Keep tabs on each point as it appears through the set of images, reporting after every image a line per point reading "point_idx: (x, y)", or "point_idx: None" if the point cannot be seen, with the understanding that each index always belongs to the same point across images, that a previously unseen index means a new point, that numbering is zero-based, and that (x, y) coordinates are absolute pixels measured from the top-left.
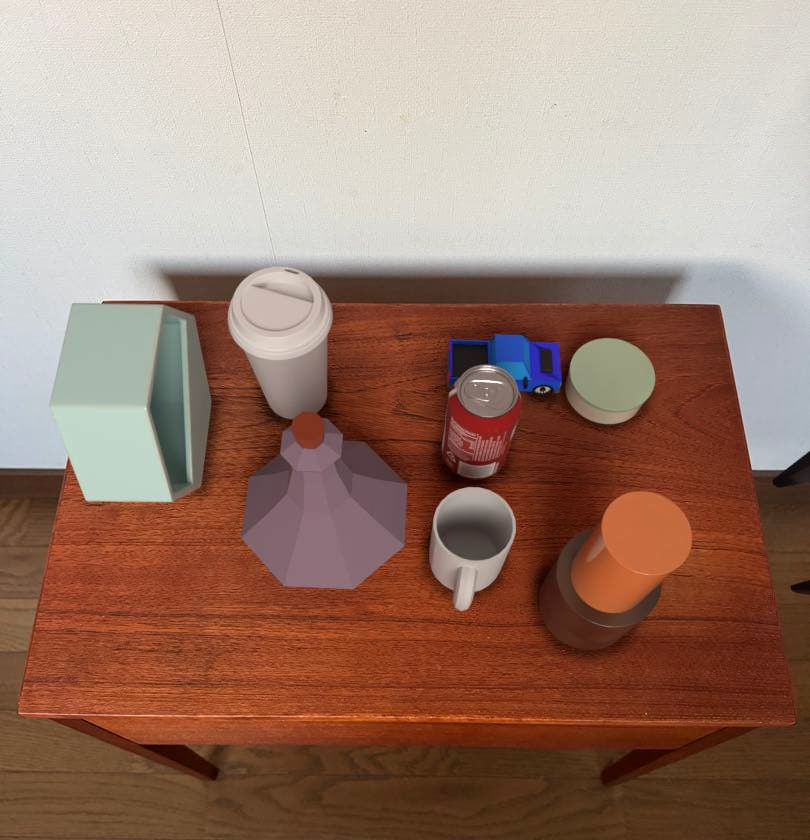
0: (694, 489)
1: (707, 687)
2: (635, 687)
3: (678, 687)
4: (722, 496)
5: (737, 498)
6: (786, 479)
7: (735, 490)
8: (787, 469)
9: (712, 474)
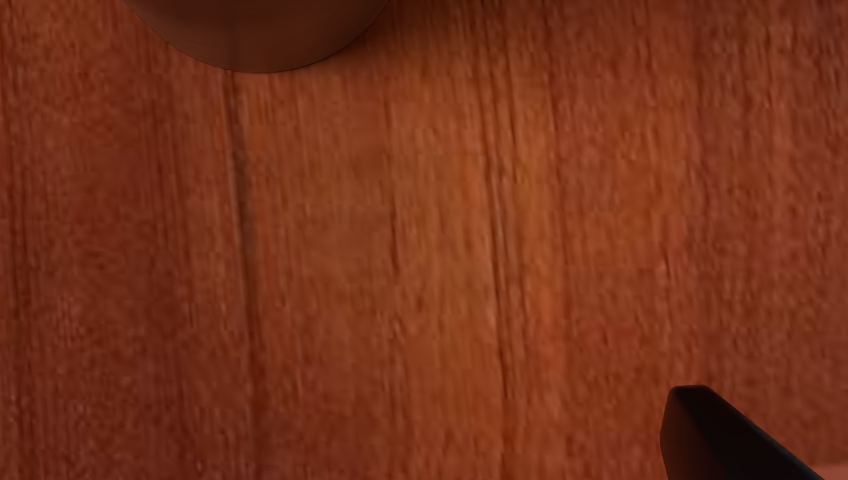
0: (717, 294)
1: (27, 307)
2: (7, 83)
3: (19, 216)
4: None
5: None
6: (705, 457)
7: None
8: (788, 460)
9: (784, 360)
